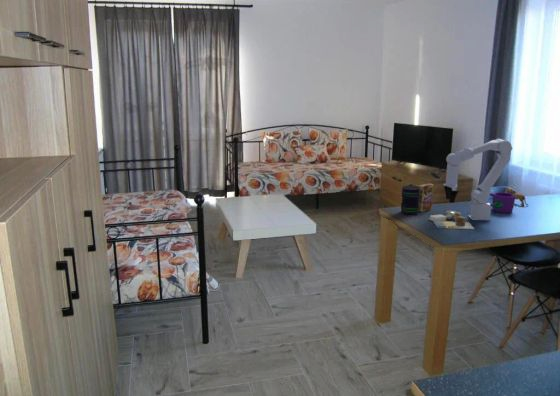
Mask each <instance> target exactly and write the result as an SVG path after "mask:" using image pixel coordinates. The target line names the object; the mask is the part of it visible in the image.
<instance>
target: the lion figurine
mask: <svg viewBox="0 0 560 396" xmlns="http://www.w3.org/2000/svg"><path fill="white" fill-rule="evenodd" d="M504 192H505V193H511V194H514V195H515V200H519V202H520V205H521V207H524V206H525V205H526V206H529V204H528V203H527V202H526V197H525V195H524V194H523V193H517V192H516V191H515V190H514V189H513V188H510V187H506V189H505V191H504Z"/></svg>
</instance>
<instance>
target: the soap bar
mask: <svg viewBox="0 0 560 396" xmlns="http://www.w3.org/2000/svg"><path fill="white" fill-rule="evenodd" d="M429 220H430V221H432V222H433V221H447V219H446V216H445V215H443V214H440V213H439V214H435V215H434V214H433V215H432V214H431V215H430V216H429Z"/></svg>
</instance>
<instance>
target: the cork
mask: <svg viewBox="0 0 560 396" xmlns="http://www.w3.org/2000/svg"><path fill="white" fill-rule="evenodd" d="M457 216H462V213H461V212H459V211H456V212H455V220H453V222H456V217H457Z"/></svg>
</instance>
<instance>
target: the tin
mask: <svg viewBox="0 0 560 396" xmlns="http://www.w3.org/2000/svg"><path fill="white" fill-rule="evenodd" d="M455 212H457V211H455V210H446V211H445V215H444V216H446V220H449V221H454V220H455Z"/></svg>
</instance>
